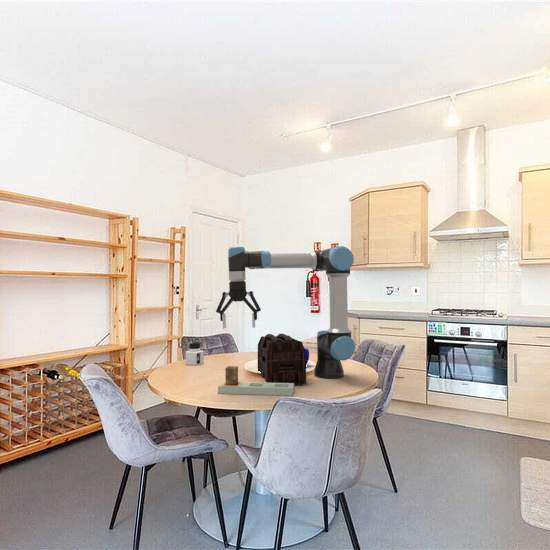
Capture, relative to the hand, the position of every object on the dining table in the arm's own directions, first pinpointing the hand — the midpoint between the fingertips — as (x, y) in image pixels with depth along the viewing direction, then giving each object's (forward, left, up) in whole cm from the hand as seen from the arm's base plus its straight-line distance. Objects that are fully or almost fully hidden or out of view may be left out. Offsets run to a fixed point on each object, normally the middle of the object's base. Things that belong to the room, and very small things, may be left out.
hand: (239, 327), depth 179 cm
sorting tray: (-9, +5, -27) cm, 29 cm away
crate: (-16, -22, -28) cm, 39 cm away
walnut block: (+2, +5, -26) cm, 26 cm away
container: (+40, -54, -27) cm, 72 cm away
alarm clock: (-22, -53, -28) cm, 63 cm away
